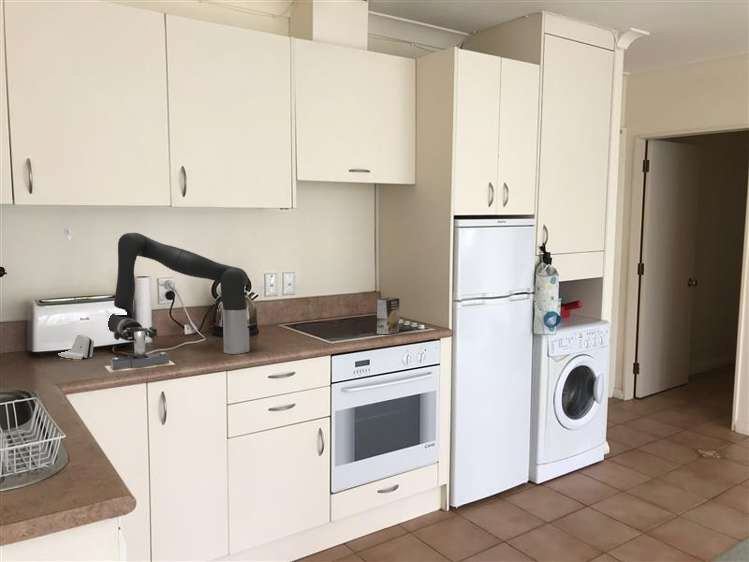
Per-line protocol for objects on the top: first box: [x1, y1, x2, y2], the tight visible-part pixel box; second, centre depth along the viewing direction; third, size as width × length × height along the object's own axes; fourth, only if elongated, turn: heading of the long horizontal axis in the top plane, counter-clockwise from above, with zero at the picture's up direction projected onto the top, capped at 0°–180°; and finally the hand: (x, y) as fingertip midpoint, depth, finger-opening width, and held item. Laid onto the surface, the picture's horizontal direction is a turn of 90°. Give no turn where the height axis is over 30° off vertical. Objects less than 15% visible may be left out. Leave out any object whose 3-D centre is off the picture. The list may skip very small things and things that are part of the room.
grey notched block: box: [109, 351, 170, 370], centre depth 228 cm, size 19×7×4 cm, turn 123°
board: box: [104, 359, 176, 373], centre depth 228 cm, size 22×10×1 cm, turn 123°
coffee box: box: [376, 297, 400, 335], centre depth 295 cm, size 9×6×16 cm
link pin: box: [133, 331, 146, 359], centre depth 228 cm, size 4×4×12 cm
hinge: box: [58, 334, 95, 361], centre depth 244 cm, size 17×5×10 cm, turn 65°
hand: (139, 336), depth 226 cm, fingers open, 8 cm apart
